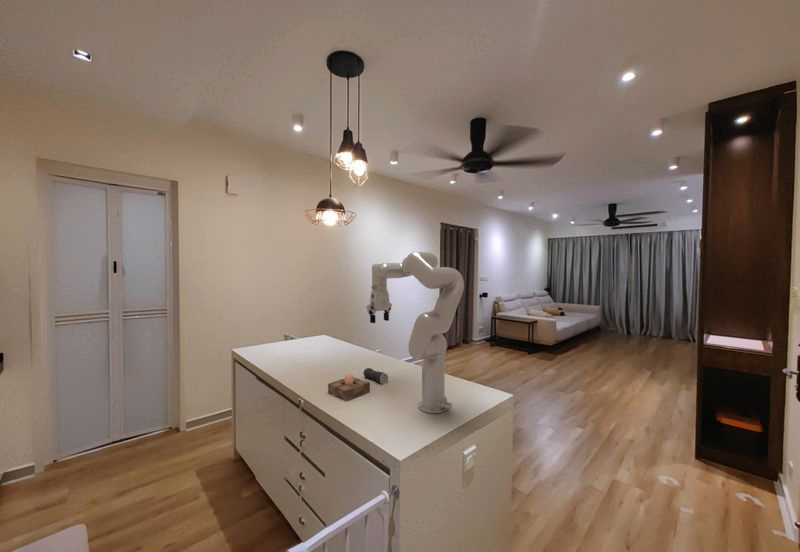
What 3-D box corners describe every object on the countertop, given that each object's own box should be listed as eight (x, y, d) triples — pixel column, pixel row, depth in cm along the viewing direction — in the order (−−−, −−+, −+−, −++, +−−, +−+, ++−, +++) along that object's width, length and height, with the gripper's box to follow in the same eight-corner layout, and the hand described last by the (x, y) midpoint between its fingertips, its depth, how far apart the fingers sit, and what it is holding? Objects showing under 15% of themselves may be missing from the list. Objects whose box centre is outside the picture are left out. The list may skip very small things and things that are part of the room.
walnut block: (369, 391, 150) (369, 382, 150) (346, 401, 139) (346, 391, 139) (351, 385, 159) (351, 376, 159) (328, 393, 148) (328, 383, 148)
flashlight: (362, 378, 170) (362, 368, 170) (370, 375, 174) (370, 366, 174) (380, 385, 159) (380, 374, 159) (388, 382, 162) (388, 372, 162)
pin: (355, 392, 149) (354, 375, 149) (348, 394, 146) (348, 378, 146) (349, 390, 152) (349, 374, 152) (343, 392, 149) (343, 376, 149)
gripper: (372, 289, 149) (372, 324, 150) (396, 287, 162) (396, 320, 163) (361, 288, 154) (362, 323, 155) (385, 287, 167) (386, 318, 168)
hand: (379, 321), depth 159 cm, fingers open, 9 cm apart
